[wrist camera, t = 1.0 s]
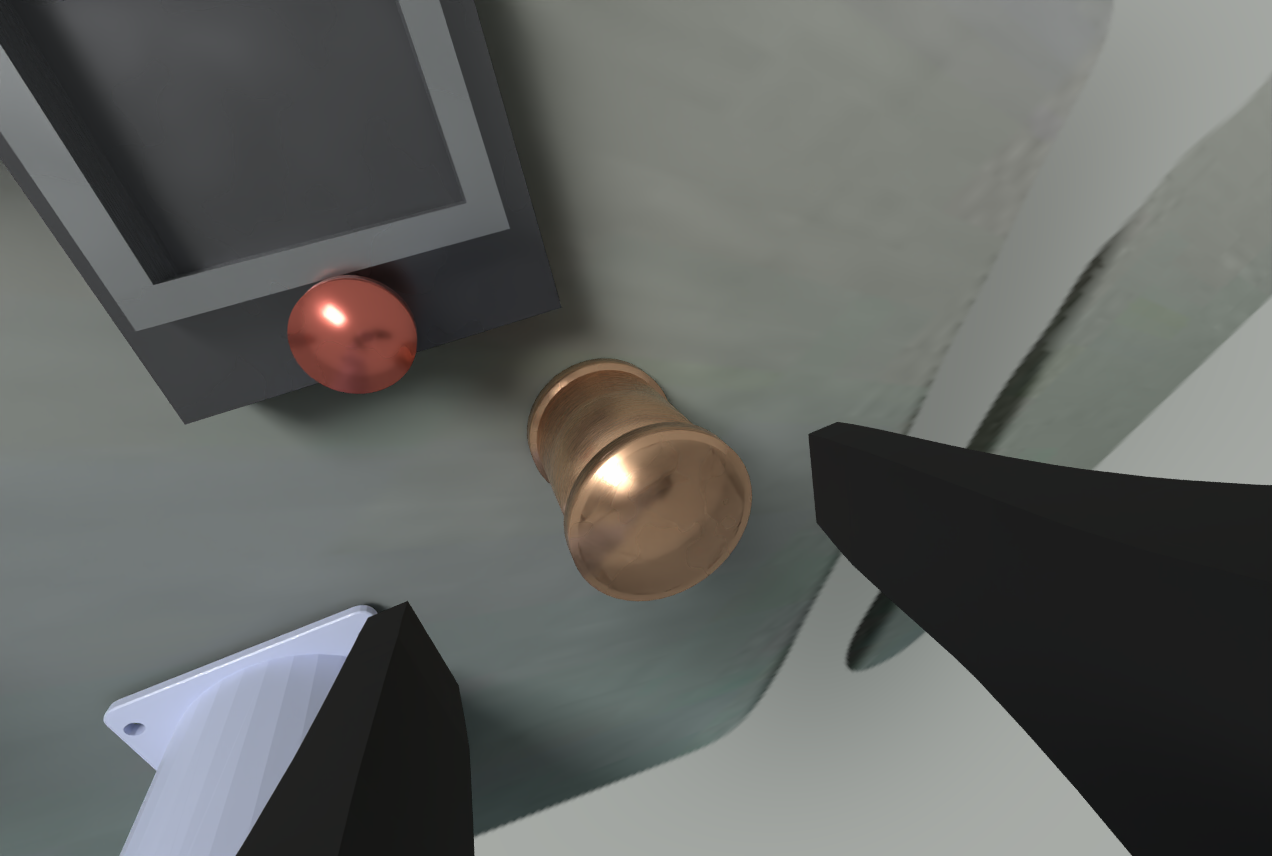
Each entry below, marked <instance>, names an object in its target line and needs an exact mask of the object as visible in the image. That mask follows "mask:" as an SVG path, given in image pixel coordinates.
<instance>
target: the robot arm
mask: <svg viewBox="0 0 1272 856" xmlns="http://www.w3.org/2000/svg"><path fill="white" fill-rule="evenodd" d="M808 435H809V446H810V457H811V467H812V478H813V489H814V500H815V510H816V521H817V524H818V525H819V526H820V527H821V528H822V530H823V531H824V532H825V533H826V534H827V536H828V537H829V538H830V539H831V541H832V542H833V543H834V544H835V545H836V547H837V548H838V549H839V550H840V551H841V552H842V553H843V555H844V556H845V557H846V558H847V559H848V560H849V561H850V562H851V564H852V565H853V566H855V568H857V569H858V570H859V571H860V572H861V573H862V574H863V575H864V576H865V577H866V578H867V579H868V580H869V581H871V582H872V583H873V584H874V585H875V586H876V587H877V588H878V589H879V590H880V591H881V592H883V593H884V594H885V595H886V596H887V597H888V598H889V599H890V600H891V601H893V602H894V603H895V604H896V605H897V606H898V607H899V608H900V609H901V610H903V611H904V612H905V613H906V614H907V615H908V616H909V617H910V618H911V619H913V620H914V621H915V622H916V623H917V624H918V625H919V626H920V627H921V628H923V629H924V630H925V631H926V632H927V633H928V634H929V635H930V636H931V637H933V638H934V639H935V640H936V641H937V642H938V643H939V644H940V645H941V646H943V647H944V648H945V649H946V650H947V651H948V652H949V653H950V654H952V655H953V656H954V657H955V658H956V659H957V660H958V661H959V662H960V663H961V664H962V665H963V666H964V667H965V668H966V669H967V670H968V671H969V672H970V673H971V674H972V675H974V677H975V678H976V679H977V680H978V681H979V682H980V683H981V684H982V685H983V686H984V687H985V688H986V689H987V690H988V691H989V693H990V694H991V695H992V696H993V697H994V698H995V699H996V700H997V701H998V702H999V703H1000V704H1001V705H1002V707H1004V709H1005V710H1006V711H1007V712H1008V713H1009V714H1010V715H1011V716H1012V717H1013V718H1014V719H1015V720H1016V722H1017V723H1018V724H1019V725H1020V726H1021V727H1022V728H1023V729H1024V730H1025V731H1026V733H1027V734H1028V735H1029V736H1030V737H1031V738H1032V739H1033V740H1034V742H1035V743H1036V744H1037V745H1038V746H1039V747H1040V748H1041V750H1042V751H1043V752H1044V753H1045V754H1046V755H1047V756H1048V757H1049V759H1050V760H1051V761H1052V762H1053V763H1054V764H1055V765H1056V767H1057V768H1058V769H1059V770H1060V771H1061V772H1062V773H1063V774H1064V776H1065V777H1066V778H1067V779H1068V780H1069V781H1070V782H1071V784H1072V785H1073V786H1074V787H1075V788H1076V789H1077V790H1078V792H1079V793H1080V794H1081V795H1082V796H1083V798H1084V799H1085V800H1086V801H1087V802H1088V804H1089V805H1090V806H1091V807H1092V808H1093V810H1094V811H1095V812H1096V813H1097V814H1098V815H1099V817H1100V818H1101V819H1102V820H1103V821H1104V823H1105V824H1106V825H1107V826H1108V827H1109V829H1110V830H1111V831H1112V832H1113V833H1114V835H1115V836H1116V837H1117V838H1118V839H1119V841H1120V842H1121V843H1122V844H1123V845H1124V847H1125V848H1126V849H1127V850H1128V851H1129V853H1130V854H1131V855H1132V856H1272V485H1251V484H1237V483H1221V482H1205V481H1190V480H1177V479H1166V478H1155V477H1144V476H1136V475H1127V474H1119V473H1111V472H1102V471H1094V470H1085V469H1078V468H1072V467H1065V466H1058V465H1052V464H1046V463H1040V462H1034V461H1029V460H1023V459H1017V458H1011V457H1006V456H1000V455H995V454H990V453H985V452H980V451H975V450H970V449H965V448H961V447H956V446H951V445H946V444H942V443H938V442H933V441H929V440H924V439H919V438H915V437H911V436H906V435H902V434H897V433H893V432H888V431H884V430H879V429H874V428H869V427H864V426H859V425H854V424H848V423H841V422H836V423H834V424H831V425H829V426H827V427H824V428H822V429H819V430H817V431H815V432H812V433H810V434H808ZM104 722H105V724H106V725H107V726H108V727H109V728H110V729H111V730H112V731H113V732H114V733H115V734H117V735H118V736H119V737H120V738H121V739H122V740H123V741H124V742H125V743H126V744H128V745H129V746H130V747H131V748H132V749H133V750H134V751H135V752H136V753H137V754H139V755H140V756H141V757H142V758H143V759H144V760H145V761H146V762H147V763H148V764H150V765H151V766H152V767H153V768H154V769H155V770H156V771H157V772H156V774H155V776H154V778H153V781H152V783H151V785H150V788H149V790H148V792H147V794H146V797H145V799H144V801H143V803H142V806H141V808H140V810H139V813H138V815H137V817H136V819H135V822H134V824H133V826H132V829H131V831H130V833H129V835H128V838H127V840H126V842H125V844H124V847H123V849H122V851H121V854H120V856H474V834H473V812H472V791H471V771H470V753H469V743H468V737H467V731H466V725H465V718H464V713H463V707H462V702H461V696H460V691H459V685H458V684H457V682H456V680H455V679H454V677H453V675H452V674H451V672H450V670H449V669H448V667H447V665H446V664H445V662H444V660H443V659H442V657H441V655H440V654H439V652H438V650H437V649H436V647H435V645H434V644H433V642H432V640H431V639H430V637H429V635H428V634H427V632H426V630H425V629H424V627H423V625H422V624H421V622H420V620H419V619H418V617H417V616H416V614H415V612H414V611H413V609H412V607H411V606H410V604H409V602H408V601H406V602H404V603H402V604H399V605H397V606H394V607H392V608H390V609H387V610H385V611H382V612H380V613H377V612H376V610H375V609H374V608H373V607H370V606H367V605H359V606H354V607H352V608H349V609H347V610H344V611H342V612H339V613H337V614H334V615H332V616H329V617H326V618H324V619H321V620H319V621H316V622H314V623H311V624H309V625H306V626H304V627H301V628H299V629H296V630H294V631H291V632H288V633H286V634H283V635H281V636H278V637H276V638H273V639H271V640H268V641H266V642H263V643H261V644H258V645H256V646H253V647H250V648H248V649H245V650H243V651H240V652H238V653H235V654H233V655H230V656H228V657H225V658H223V659H220V660H218V661H215V662H212V663H210V664H207V665H205V666H202V667H200V668H197V669H195V670H192V671H190V672H187V673H185V674H182V675H180V676H177V677H174V678H172V679H169V680H167V681H164V682H162V683H159V684H157V685H154V686H152V687H149V688H147V689H144V690H142V691H139V692H136V693H134V694H131V695H129V696H126V697H124V698H121V699H119V700H117V701H115V702H113V703H112V704H111V706H110V707H109V708H108V710H107V712H106V713H105V715H104ZM133 723H141V725H139V724H133Z"/></svg>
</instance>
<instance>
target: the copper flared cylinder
mask: <svg viewBox="0 0 1272 856" xmlns="http://www.w3.org/2000/svg"><path fill="white" fill-rule="evenodd" d="M527 438H528V445H529V449H530V452H531V455H532V457H533V460H534V462H535V464H536V467H537V469H538V470H539V472H540V473H541V475H542V476H543V477H544V478H545V479H546V481H547V482H548V483H550V484H551V486H552V489H553V491H554V493H555V496H556V498H557V501H558V503H559V505H560V508H561V510H562V512H563V515H564V532H565V538H566V541H567V545H568V548H569V550H570V553H571V555H572V558H573V560H574V562H575V564H576V567H577V569H578V570H579V572H580V573H581V575H582V576H583V577H584V579H585V580H586V581H587V582H588V583H589V584H590V585H592V586H593V587H594V588H596V589H597V590H599V591H600V592H602V593H604V594H606V595H609V596H611V597H614V598H618V599H623V600H628V601H650V600H656V599H661V598H665V597H669V596H672V595H675V594H677V593H680V592H682V591H684V590H686V589H688V588H690V587H692V586H694V585H696V584H697V583H699V582H700V581H702V580H703V579H705V578H706V577H707V576H709V575H710V574H711V573H713V572H714V571H715V570H716V569H717V568H718V567H719V566H720V565H721V564H722V563H723V562H724V561H725V560H726V559H727V557H728V556H729V555H730V554H731V552H732V551H733V550H734V548H735V547H736V545H737V543H738V542H739V540H740V538H741V536H742V534H743V532H744V530H745V528H746V525H747V522H748V519H749V515H750V510H751V502H752V490H751V483H750V478H749V475H748V472H747V470H746V467H745V465H744V464H743V462H742V460H741V459H740V458H739V456H738V455H737V454H736V453H735V452H734V451H733V450H732V449H731V448H730V447H729V446H728V445H727V444H725V443H724V442H723V441H722V440H721V439H720V438H718V437H717V436H716V435H715V434H713V433H711V432H710V431H708V430H706V429H704V428H701V427H699V426H696V425H693V424H692V423H691V422H690V421H689V420H688V419H687V418H685V417H684V416H683V415H682V414H681V413H680V412H679V411H678V410H677V409H676V408H675V407H673V406H672V405H671V404H670V403H669V402H668V400H667V398H666V396H665V394H664V392H663V391H662V389H661V388H660V386H659V385H658V384H657V383H656V382H655V381H654V380H653V379H652V378H651V377H650V376H648V375H647V374H646V373H645V372H644V371H643V370H641V369H639V368H638V367H636V366H635V365H632V364H630V363H628V362H625V361H621V360H617V359H609V358H608V359H592V360H587V361H584V362H580V363H578V364H575V365H573V366H571V367H569V368H567V369H565V370H563V371H562V372H560V373H559V374H558V375H556V376H555V377H554V378H553V379H552V380H551V381H550V382H549V383H547V385H546V386H545V387H544V388H543V389H542V391H541V392H540V394H539V395H538V397H537V398H536V400H535V402H534V404H533V406H532V409H531V412H530V415H529V419H528V425H527Z"/></svg>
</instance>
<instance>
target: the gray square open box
mask: <svg viewBox="0 0 1272 856" xmlns="http://www.w3.org/2000/svg"><path fill="white" fill-rule="evenodd" d="M0 158H1V160H2V161H3V163H4V164H5V166H6V167H7V168H8V170H9V171H10V173H11V174H12V176H13V177H14V179H15V180H16V181H17V183H18V184H19V186H20V187H21V189H22V190H23V191H24V193H25V194H26V196H27V197H28V199H29V200H30V202H31V203H32V204H33V206H34V207H35V209H36V210H37V212H38V213H39V215H40V216H41V217H42V219H43V220H44V222H45V223H46V225H47V226H48V228H49V229H50V230H51V232H52V233H53V235H54V236H55V238H56V239H57V241H58V242H59V243H60V245H61V246H62V248H63V249H64V251H65V252H66V254H67V255H68V256H69V258H70V259H71V261H72V262H73V264H74V265H75V267H76V268H77V269H78V271H79V272H80V274H81V275H82V277H83V278H84V280H85V281H86V282H87V284H88V285H89V287H90V288H91V290H92V291H93V293H94V294H95V295H96V297H97V298H98V300H99V301H100V303H101V304H102V305H103V307H104V308H105V310H106V311H107V313H108V314H109V316H110V317H111V318H112V320H113V321H114V323H115V324H116V326H117V327H118V329H119V330H120V331H121V333H122V334H123V336H124V337H125V339H126V340H127V342H128V343H129V344H130V346H131V347H132V349H133V350H134V352H135V353H136V355H137V356H138V357H139V359H140V360H141V362H142V363H143V365H144V366H145V368H146V369H147V370H148V372H149V373H150V375H151V376H152V378H153V379H154V381H155V382H156V383H157V385H158V386H159V388H160V389H161V391H162V392H163V394H164V395H165V396H166V398H167V399H168V401H169V402H170V404H171V405H172V406H173V408H174V409H175V411H176V412H177V414H178V415H179V417H180V418H181V419H182V421H183V422H184V424H188V423H191V422H195V421H198V420H201V419H204V418H207V417H211V416H214V415H217V414H220V413H223V412H227V411H230V410H233V409H236V408H240V407H243V406H246V405H249V404H252V403H256V402H259V401H262V400H265V399H269V398H272V397H275V396H278V395H281V394H285V393H288V392H291V391H294V390H297V389H301V388H304V387H307V386H310V385H314V384H317V383H321V384H322V385H324V386H326V387H329V388H331V389H334V390H337V391H340V392H345V393H353V394H365V393H372V392H376V391H380V390H382V389H385V388H387V387H389V386H391V385H393V384H394V383H396V382H397V381H398V380H400V379H401V378H402V377H403V376H404V375H405V374H406V372H407V371H408V370H409V368H410V366H411V365H412V363H413V360H414V358H415V354H416V352H420V351H423V350H426V349H429V348H433V347H436V346H439V345H442V344H445V343H449V342H452V341H455V340H458V339H461V338H465V337H468V336H471V335H474V334H478V333H481V332H484V331H487V330H490V329H494V328H497V327H500V326H503V325H506V324H510V323H513V322H516V321H519V320H523V319H526V318H529V317H532V316H535V315H539V314H542V313H545V312H548V311H552V310H555V309H558V308H561V304H560V300H559V297H558V293H557V290H556V286H555V283H554V279H553V276H552V272H551V269H550V265H549V262H548V258H547V255H546V251H545V248H544V244H543V241H542V237H541V234H540V230H539V227H538V223H537V220H536V216H535V213H534V209H533V206H532V202H531V199H530V195H529V192H528V188H527V185H526V181H525V178H524V174H523V171H522V167H521V164H520V160H519V157H518V153H517V150H516V146H515V143H514V139H513V136H512V132H511V129H510V125H509V122H508V118H507V115H506V111H505V108H504V104H503V101H502V97H501V94H500V90H499V87H498V83H497V80H496V76H495V73H494V69H493V66H492V62H491V59H490V55H489V52H488V48H487V45H486V41H485V38H484V34H483V31H482V27H481V24H480V20H479V17H478V13H477V10H476V6H475V3H474V0H0Z"/></svg>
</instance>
